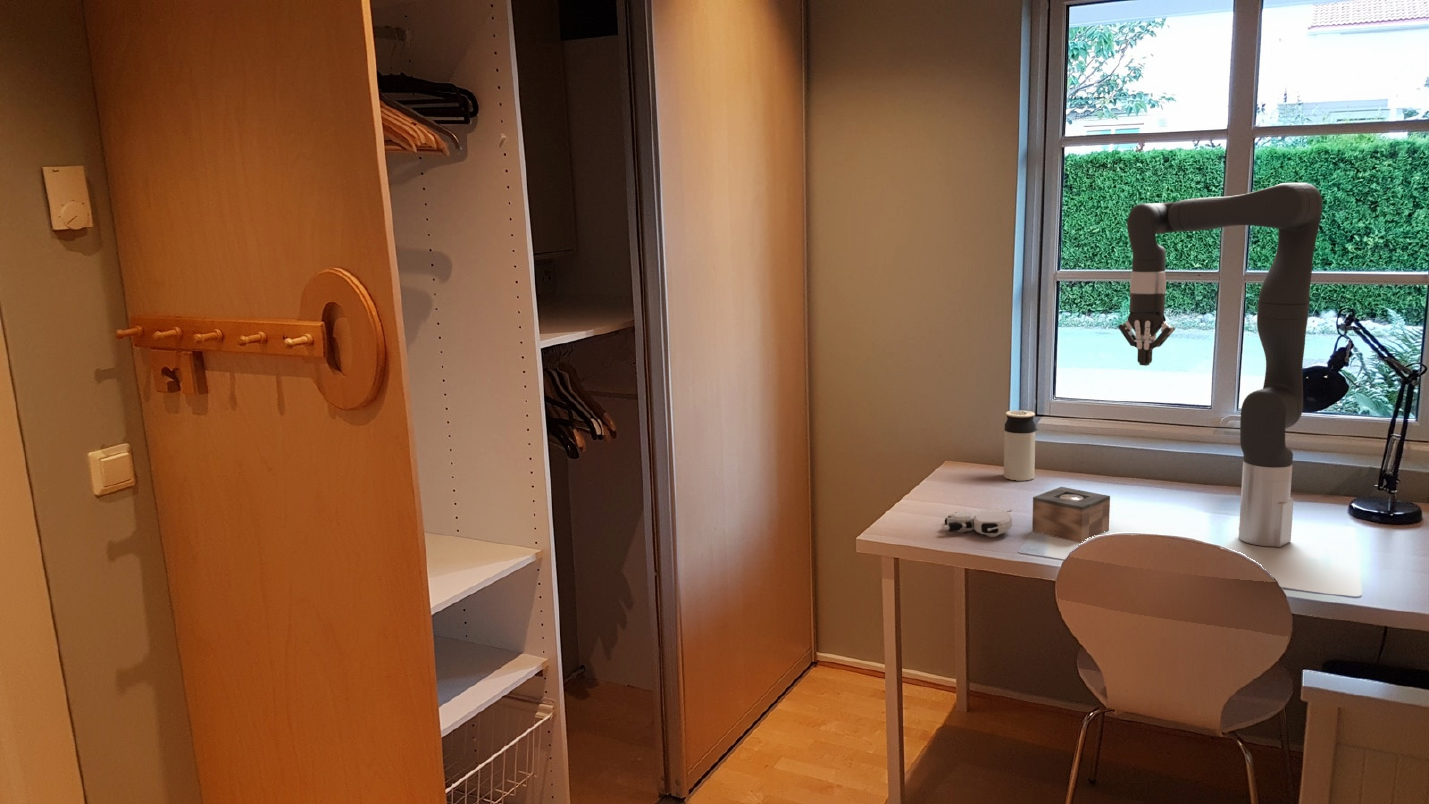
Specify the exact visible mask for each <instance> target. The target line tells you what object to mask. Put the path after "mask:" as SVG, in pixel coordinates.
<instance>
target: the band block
mask: <svg viewBox="0 0 1429 804" xmlns="http://www.w3.org/2000/svg"><path fill="white" fill-rule="evenodd" d="M1065 494H1074V495H1079V496H1082V497H1083V499H1082V500H1079V501H1077V502H1076V501H1071V500H1066V499H1061V498H1060V496H1061V495H1065ZM1110 508H1111V495H1107V494H1101V493H1097V492H1091V491H1086V490H1082V489H1081V490H1080V489H1075V488H1070V487H1066V486H1059V487H1057V488H1054V489H1051V490H1048V491H1046V492H1043V493H1040V494H1038V495H1035V496H1033V497H1032V530H1031V531H1032V532H1035V533H1039V534H1043V535H1047V536H1051V537H1056V538H1061V539H1065V540H1069V541H1074V542H1078V543H1081V542H1082V541H1084V540H1085V539H1087V538H1089V537H1092V536H1094V535H1097V536H1099V535H1102V534H1104V533H1105V532H1104V531H1106V532H1109V531H1110V511H1111V509H1110ZM1084 542H1085V541H1084ZM1082 543H1083V542H1082Z"/></svg>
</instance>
